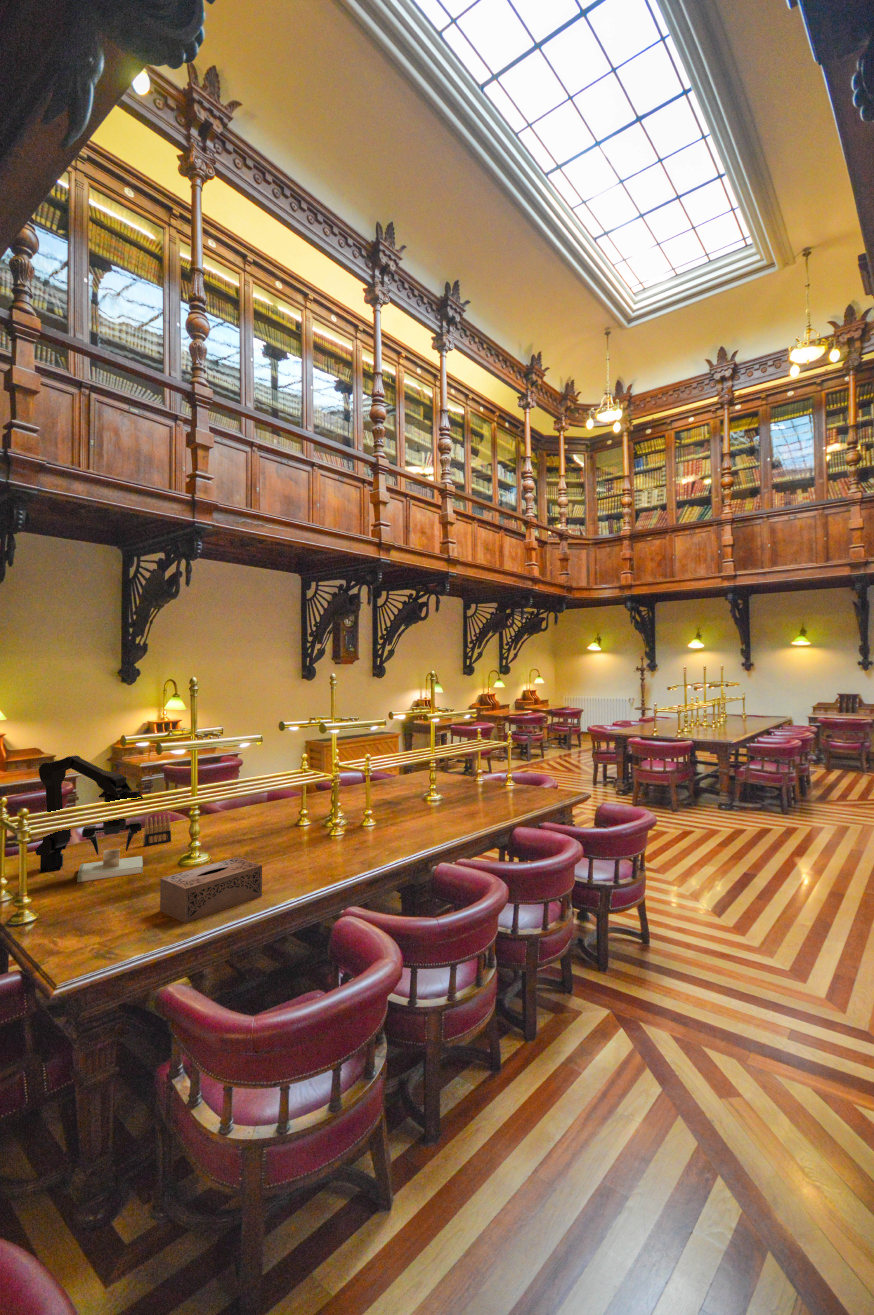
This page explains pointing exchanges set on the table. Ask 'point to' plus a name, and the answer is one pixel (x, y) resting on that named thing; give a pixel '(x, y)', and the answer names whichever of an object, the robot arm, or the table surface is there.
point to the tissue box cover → (210, 889)
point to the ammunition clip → (157, 836)
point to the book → (110, 869)
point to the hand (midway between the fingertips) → (112, 852)
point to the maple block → (111, 858)
